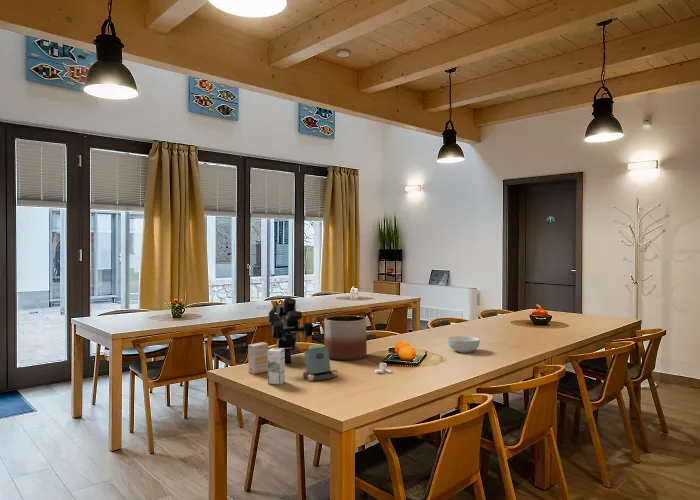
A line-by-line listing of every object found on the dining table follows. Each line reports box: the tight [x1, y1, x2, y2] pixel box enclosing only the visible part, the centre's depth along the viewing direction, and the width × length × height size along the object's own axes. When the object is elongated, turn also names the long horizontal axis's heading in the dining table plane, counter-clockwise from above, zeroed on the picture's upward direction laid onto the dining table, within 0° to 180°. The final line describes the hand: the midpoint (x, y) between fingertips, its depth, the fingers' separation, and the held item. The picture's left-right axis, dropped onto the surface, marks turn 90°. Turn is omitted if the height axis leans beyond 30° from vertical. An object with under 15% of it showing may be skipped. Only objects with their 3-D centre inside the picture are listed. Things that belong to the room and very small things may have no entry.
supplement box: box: [247, 341, 269, 375], centre depth 232 cm, size 8×5×13 cm, turn 134°
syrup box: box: [267, 347, 286, 386], centre depth 214 cm, size 6×6×14 cm
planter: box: [323, 314, 368, 361], centre depth 263 cm, size 22×22×20 cm
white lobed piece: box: [374, 362, 392, 375], centre depth 232 cm, size 9×8×4 cm
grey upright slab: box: [304, 343, 332, 374], centre depth 223 cm, size 6×10×12 cm, turn 123°
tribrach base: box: [302, 369, 339, 383], centre depth 224 cm, size 15×15×2 cm
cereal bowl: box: [447, 335, 480, 354], centre depth 274 cm, size 17×17×7 cm
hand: (296, 339), depth 228 cm, fingers open, 9 cm apart
